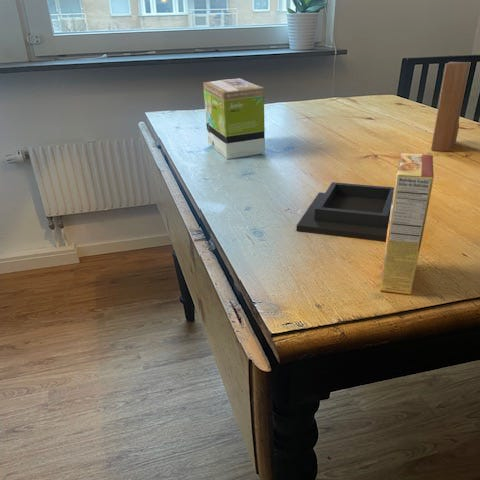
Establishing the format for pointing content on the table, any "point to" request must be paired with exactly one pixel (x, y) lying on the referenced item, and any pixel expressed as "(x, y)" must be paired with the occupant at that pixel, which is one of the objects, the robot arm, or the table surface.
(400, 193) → the candy box
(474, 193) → the table surface
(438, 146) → the wooden block
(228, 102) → the tea box
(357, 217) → the dock pad
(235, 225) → the table surface
